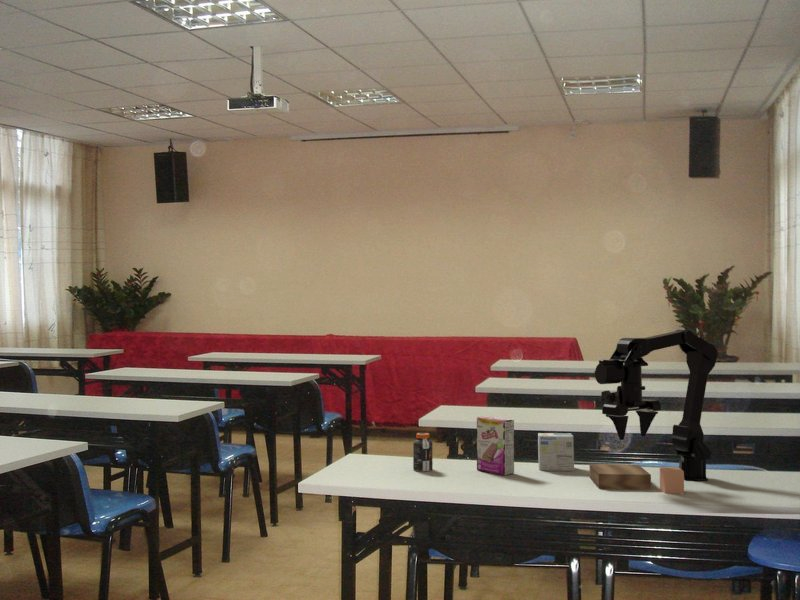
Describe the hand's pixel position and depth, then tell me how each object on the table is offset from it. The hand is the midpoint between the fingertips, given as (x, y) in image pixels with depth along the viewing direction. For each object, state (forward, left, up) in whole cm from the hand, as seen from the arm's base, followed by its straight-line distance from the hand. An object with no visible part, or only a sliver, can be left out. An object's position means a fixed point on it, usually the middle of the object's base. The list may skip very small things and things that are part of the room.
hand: (632, 437), depth 218 cm
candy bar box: (+38, -14, -13) cm, 42 cm away
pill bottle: (+60, -16, -13) cm, 63 cm away
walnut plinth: (+4, 0, -13) cm, 13 cm away
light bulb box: (+19, -20, -13) cm, 31 cm away
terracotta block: (-8, +9, -13) cm, 18 cm away
